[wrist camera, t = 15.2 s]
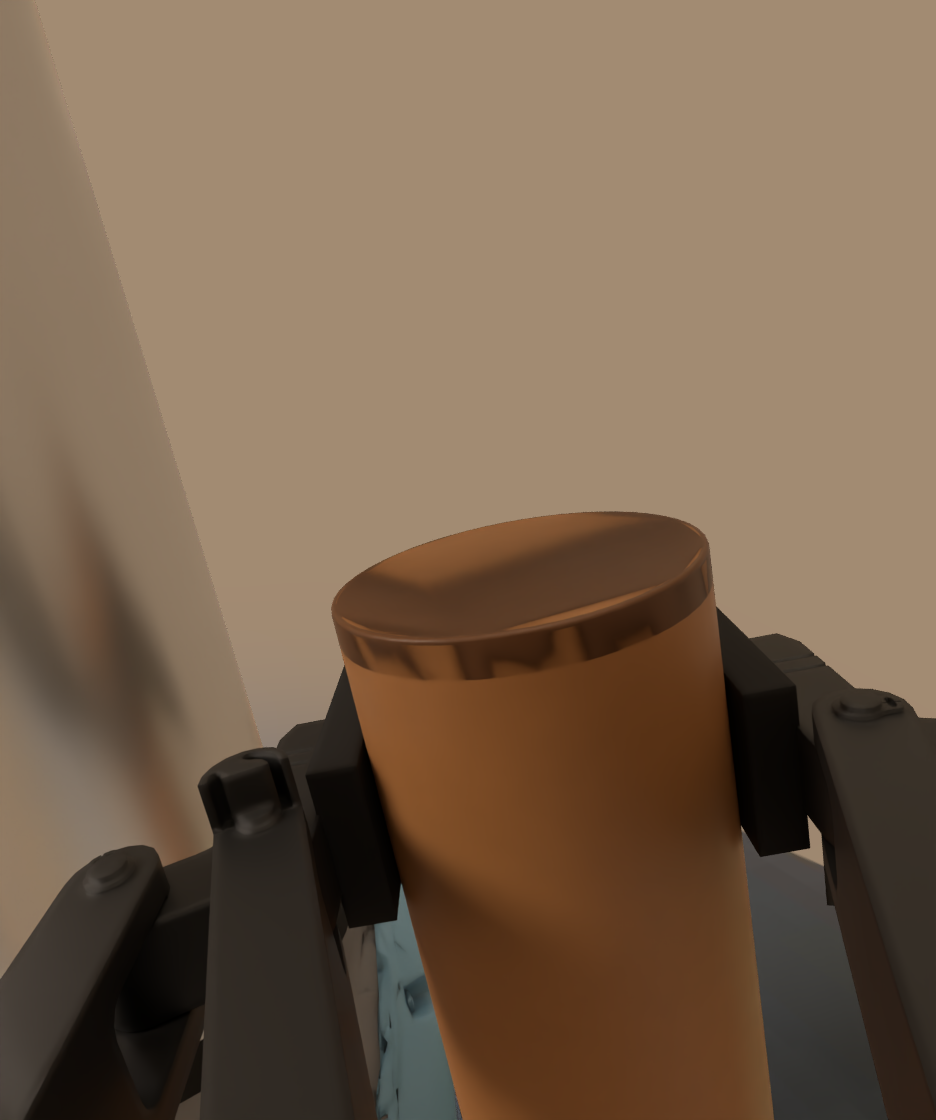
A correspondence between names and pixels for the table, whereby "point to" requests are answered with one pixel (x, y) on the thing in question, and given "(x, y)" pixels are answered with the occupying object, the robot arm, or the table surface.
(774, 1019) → the table surface
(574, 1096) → the brown cylindrical canister
